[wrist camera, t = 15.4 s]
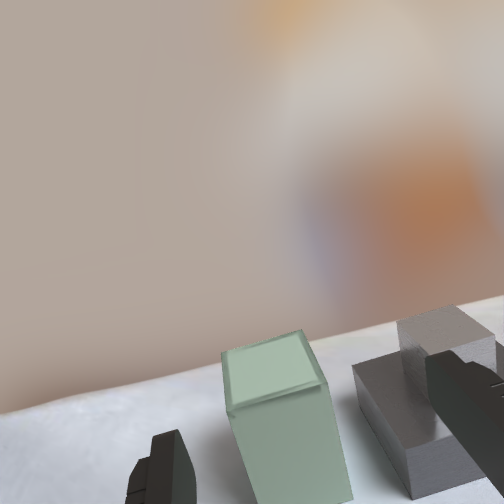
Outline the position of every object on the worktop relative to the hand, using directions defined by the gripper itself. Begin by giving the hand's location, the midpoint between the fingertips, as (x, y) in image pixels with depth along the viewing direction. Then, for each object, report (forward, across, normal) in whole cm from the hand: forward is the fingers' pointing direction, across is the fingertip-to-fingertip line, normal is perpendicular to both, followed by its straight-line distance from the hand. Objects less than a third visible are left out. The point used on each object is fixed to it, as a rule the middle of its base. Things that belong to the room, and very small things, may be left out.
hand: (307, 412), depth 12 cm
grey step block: (+10, -10, +14) cm, 20 cm away
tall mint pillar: (+10, 0, +14) cm, 18 cm away
